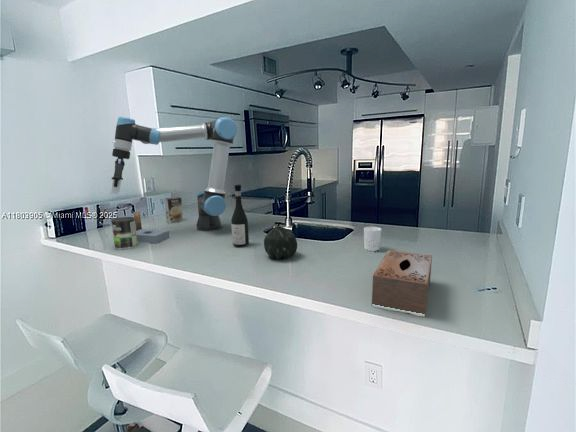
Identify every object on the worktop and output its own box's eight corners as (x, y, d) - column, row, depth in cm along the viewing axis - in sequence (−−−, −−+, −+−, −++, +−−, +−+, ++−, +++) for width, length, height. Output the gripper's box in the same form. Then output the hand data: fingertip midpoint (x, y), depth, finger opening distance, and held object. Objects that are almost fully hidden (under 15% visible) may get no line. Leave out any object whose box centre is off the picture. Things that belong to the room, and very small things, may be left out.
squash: (295, 237, 145) (274, 216, 139) (308, 247, 132) (286, 224, 126) (274, 259, 144) (252, 239, 138) (285, 271, 130) (262, 249, 124)
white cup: (365, 246, 148) (366, 225, 146) (382, 248, 144) (383, 227, 142) (360, 250, 142) (361, 229, 140) (377, 253, 138) (378, 231, 136)
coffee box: (169, 223, 203) (167, 199, 200) (166, 221, 208) (164, 198, 205) (183, 221, 209) (181, 197, 206) (180, 219, 214) (177, 196, 211)
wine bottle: (244, 248, 148) (241, 186, 142) (229, 246, 151) (226, 185, 145) (251, 243, 156) (248, 184, 150) (237, 242, 158) (234, 183, 152)
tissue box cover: (424, 318, 85) (427, 284, 83) (371, 307, 91) (372, 275, 89) (429, 282, 107) (432, 255, 105) (386, 276, 114) (388, 250, 112)
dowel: (143, 231, 181) (141, 211, 179) (139, 233, 178) (137, 212, 176) (138, 231, 182) (136, 211, 179) (134, 233, 179) (132, 212, 176)
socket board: (169, 237, 169) (169, 230, 168) (156, 243, 159) (156, 236, 158) (141, 236, 173) (140, 229, 172) (127, 241, 163) (126, 234, 162)
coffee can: (123, 250, 148) (119, 222, 145) (110, 248, 152) (106, 220, 150) (142, 244, 157) (139, 217, 154) (129, 242, 161) (125, 216, 158)
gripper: (115, 149, 159) (108, 190, 160) (111, 146, 136) (103, 193, 138) (131, 152, 162) (125, 192, 163) (129, 150, 140) (122, 196, 141)
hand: (115, 193), depth 150 cm, fingers open, 13 cm apart
